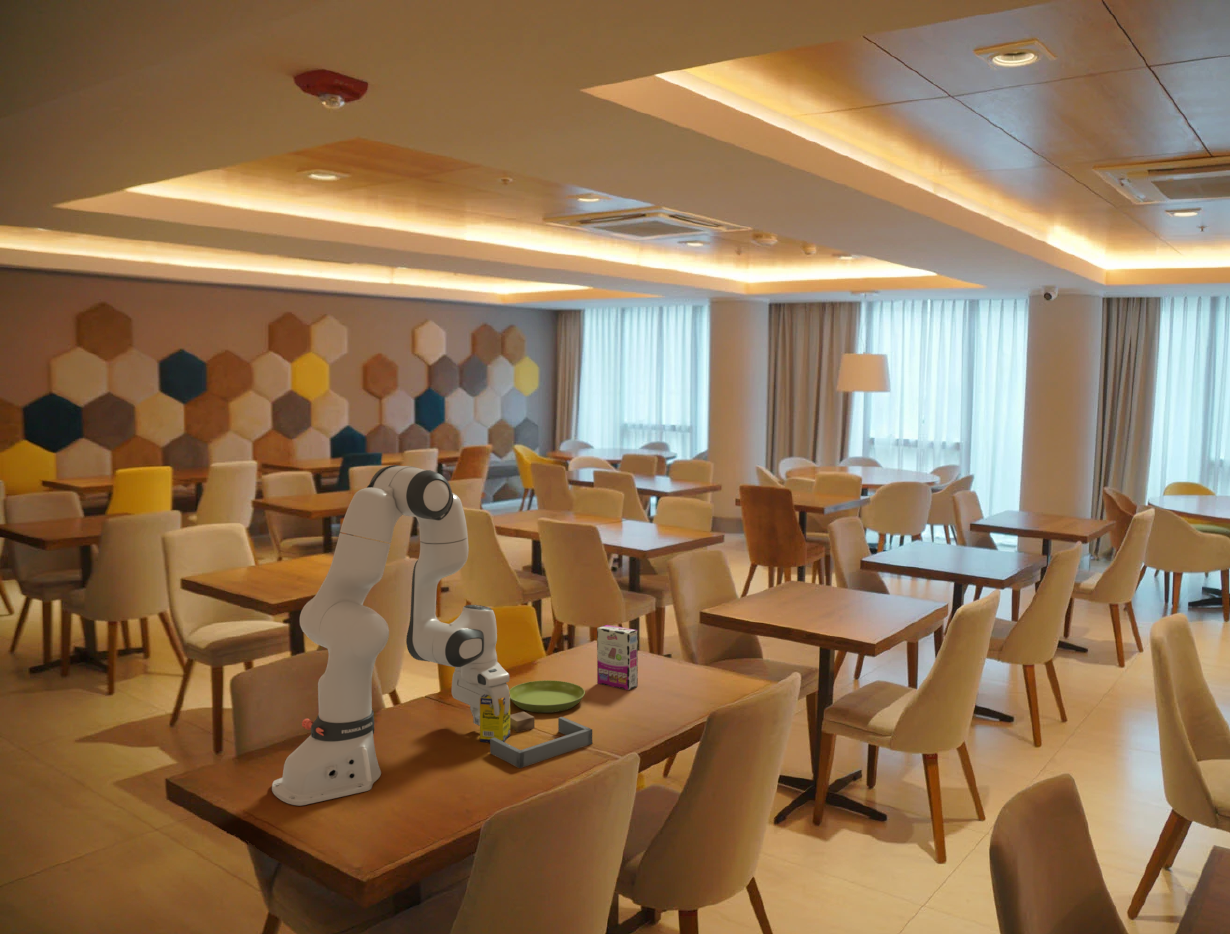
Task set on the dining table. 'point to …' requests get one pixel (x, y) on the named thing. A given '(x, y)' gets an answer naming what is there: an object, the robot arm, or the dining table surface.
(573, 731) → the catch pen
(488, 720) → the supplement box
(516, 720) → the walnut tile
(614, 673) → the candy bar box
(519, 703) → the saucer
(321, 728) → the robot arm
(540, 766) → the dining table surface
